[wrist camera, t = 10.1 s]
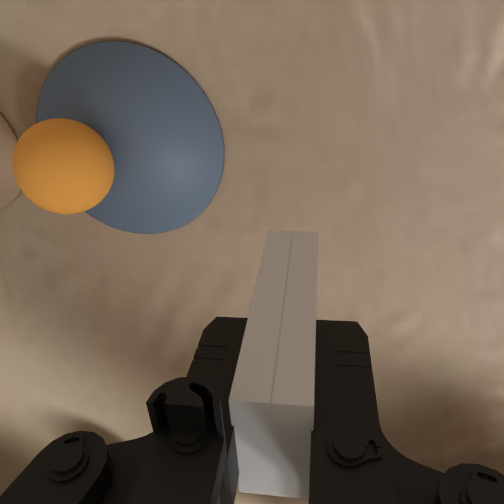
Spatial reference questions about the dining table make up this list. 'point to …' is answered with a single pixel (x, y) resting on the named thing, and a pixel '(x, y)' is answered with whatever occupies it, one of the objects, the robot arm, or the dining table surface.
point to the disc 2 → (141, 132)
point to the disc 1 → (7, 164)
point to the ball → (63, 166)
